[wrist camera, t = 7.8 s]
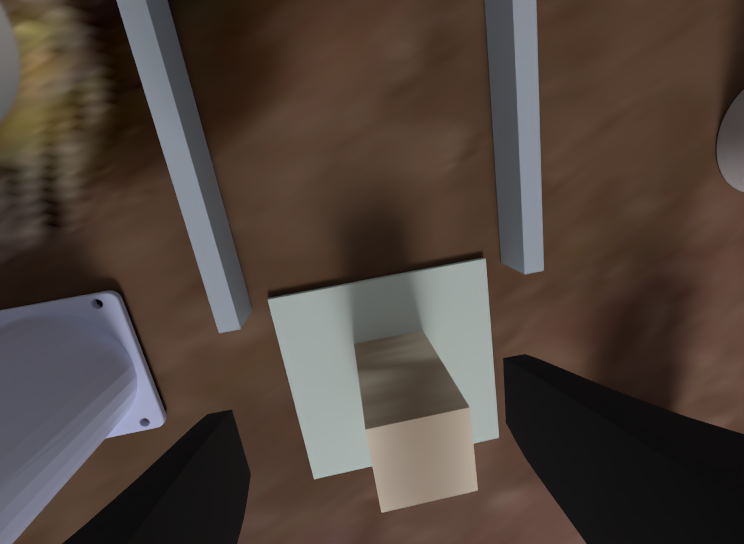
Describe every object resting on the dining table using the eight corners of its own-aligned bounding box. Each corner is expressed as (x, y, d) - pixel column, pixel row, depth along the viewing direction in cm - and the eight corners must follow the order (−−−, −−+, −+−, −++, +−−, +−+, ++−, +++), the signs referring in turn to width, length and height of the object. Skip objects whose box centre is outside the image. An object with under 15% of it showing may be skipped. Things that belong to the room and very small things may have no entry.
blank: (365, 404, 21) (381, 512, 14) (353, 343, 20) (365, 429, 13) (430, 390, 21) (477, 490, 14) (423, 330, 20) (470, 407, 13)
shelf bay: (233, 313, 19) (219, 333, 16) (121, -72, 14) (78, -124, 12) (517, 259, 20) (543, 270, 17) (499, -115, 15) (531, -171, 13)
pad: (314, 475, 22) (314, 479, 22) (268, 297, 19) (267, 299, 18) (496, 434, 23) (498, 437, 22) (483, 257, 19) (485, 258, 19)
